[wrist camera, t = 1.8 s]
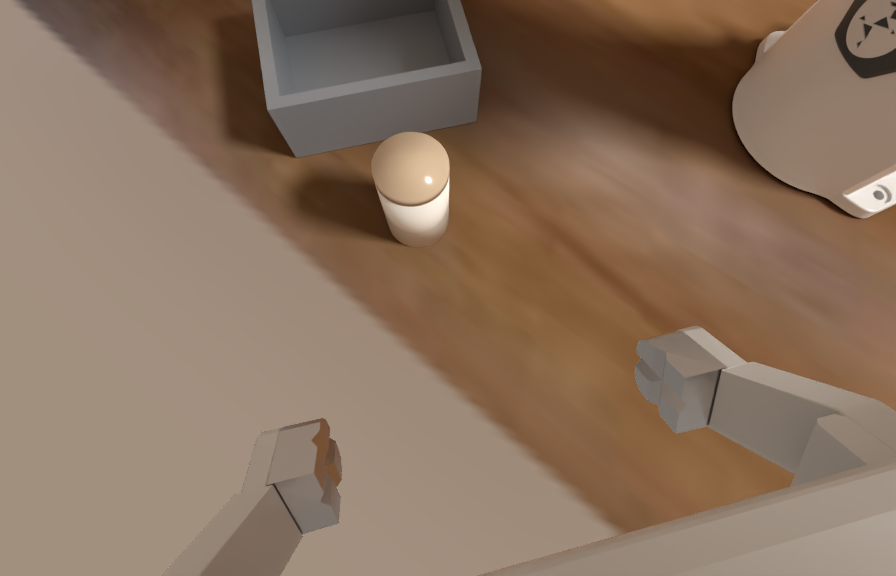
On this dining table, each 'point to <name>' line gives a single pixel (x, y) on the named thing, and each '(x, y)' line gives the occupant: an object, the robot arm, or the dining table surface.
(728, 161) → the dining table surface
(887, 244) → the dining table surface
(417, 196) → the jar
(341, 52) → the tote
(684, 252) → the dining table surface
